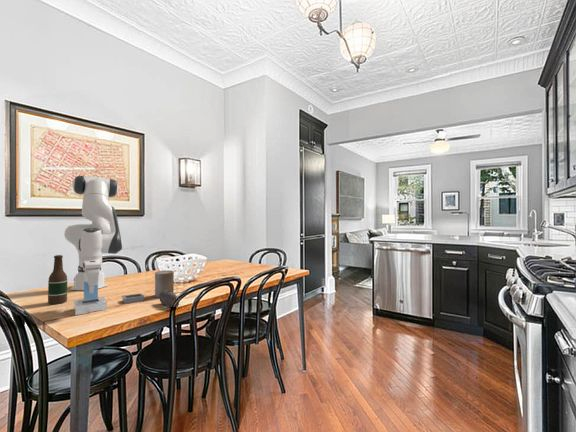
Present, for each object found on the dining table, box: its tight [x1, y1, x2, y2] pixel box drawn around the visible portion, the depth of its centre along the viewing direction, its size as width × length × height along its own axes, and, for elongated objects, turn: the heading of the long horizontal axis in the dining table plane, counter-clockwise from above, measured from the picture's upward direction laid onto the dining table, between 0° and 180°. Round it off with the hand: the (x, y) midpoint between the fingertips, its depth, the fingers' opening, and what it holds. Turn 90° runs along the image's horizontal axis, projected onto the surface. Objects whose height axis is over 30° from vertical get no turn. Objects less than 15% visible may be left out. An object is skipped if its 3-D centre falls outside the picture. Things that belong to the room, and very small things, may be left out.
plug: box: [83, 282, 99, 301], centre depth 144 cm, size 4×5×9 cm
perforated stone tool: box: [158, 290, 180, 309], centre depth 151 cm, size 15×5×7 cm, turn 47°
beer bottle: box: [47, 254, 68, 306], centre depth 155 cm, size 8×8×24 cm
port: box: [73, 296, 108, 316], centre depth 144 cm, size 12×12×4 cm
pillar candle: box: [154, 269, 175, 299], centre depth 170 cm, size 10×10×15 cm
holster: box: [122, 293, 145, 305], centre depth 158 cm, size 7×9×3 cm
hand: (90, 291), depth 144 cm, fingers closed on plug, 4 cm apart
